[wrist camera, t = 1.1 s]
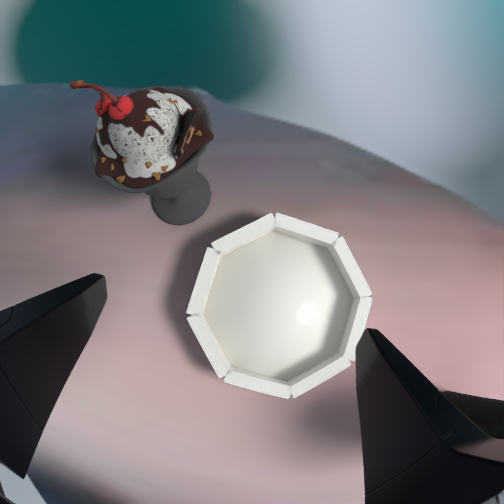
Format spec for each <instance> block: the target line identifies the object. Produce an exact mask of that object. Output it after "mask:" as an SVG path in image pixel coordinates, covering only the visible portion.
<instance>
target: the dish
mask: <svg viewBox="0 0 504 504" xmlns="http://www.w3.org/2000/svg"><path fill="white" fill-rule="evenodd" d="M338 234H339V233H337V232H334V231H331V230H328V229H325V228H322V227H319V226H316V225H313V224H310V223H307V222H304V221H301V220H298V219H295V218H292V217H289V216H286V215H283V214H280V213H276V215H275V217H274V216H273V214H272V213H270V214H268V215H266V216H264V217H262V218H260V219H258V220H256V221H254V222H252V223H250V224H248V225H246V226H244V227H242V228H240V229H238V230H236V231H234V232H232V233H230V234H228V235H226V236H224V237H222V238H220V239H218V240H216V241H214V242H212V243H211V244H212V246H213V248H214V249H212V248H209V247H207V250H206V253H205V256H204V259H203V262H202V265H201V268H200V271H199V274H198V277H197V280H196V283H195V286H194V289H193V292H192V295H191V299H190V302H189V305H188V308H187V311H186V313H188V314H191V315H192V316H190V317H188V318H187V320H188V322H189V324H190V326H191V328H192V330H193V332H194V334H195V335H196V337H197V339H198V341H199V343H200V345H201V347H202V349H203V350H204V352H205V354H206V356H207V358H208V360H209V361H210V363H211V365H212V367H213V368H214V370H215V372H216V374H217V375H218V377H219V379H220V378H222V377H224V381H223V382H226V383H229V384H232V385H236V386H239V387H243V388H246V389H250V390H254V391H257V392H261V393H265V394H269V395H273V396H277V397H281V398H286V399H289V397H290V395H291V394H292V396H293V398H296V397H298V396H299V395H301V394H303V393H305V392H307V391H309V390H310V389H312V388H314V387H316V386H317V385H319V384H321V383H323V382H324V381H326V380H328V379H329V378H331V377H333V376H334V375H336V374H338V373H339V372H341V371H343V370H344V369H346V368H347V367H349V366H350V365H351V363H350V361H349V360H352V361H355V358H356V357H355V350H356V345H357V343H358V341H359V340H360V338H361V336H362V334H363V332H364V328H365V325H366V321H367V317H368V314H369V310H370V306H371V302H372V298H370V297H367V296H369V295H371V294H372V292H371V290H370V288H369V286H368V284H367V282H366V280H365V278H364V276H363V274H362V272H361V271H360V269H359V267H358V265H357V263H356V261H355V259H354V257H353V255H352V253H351V251H350V249H349V248H348V246H347V244H346V242H345V240H344V238H343V237H340V238H338ZM337 238H338V239H337Z"/></svg>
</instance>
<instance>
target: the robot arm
mask: <svg viewBox="0 0 504 504" xmlns="http://www.w3.org/2000/svg"><path fill="white" fill-rule="evenodd" d="M106 300H107V289H106V280H105V277H104V276H103V275H100V274H96V273H93V274H90V275H87V276H85V277H82V278H80V279H77V280H75V281H72V282H70V283H67V284H65V285H62V286H60V287H57V288H55V289H52V290H50V291H47V292H45V293H43V294H40V295H38V296H35V297H33V298H30V299H28V300H26V301H23V302H21V303H19V304H16V305H15V306H11V307H9V308H7V309H4V310H2V311H0V463H1V464H2V465H4V466H5V467H7V468H8V469H9V470H11V471H12V472H13V473H15V474H16V475H18V476H19V477H21V478H22V479H24V478H25V475H26V473H27V470H28V467H29V465H30V462H31V460H32V457H33V455H34V452H35V450H36V447H37V445H38V442H39V440H40V437H41V435H42V433H43V430H44V428H45V425H46V423H47V421H48V419H49V417H50V414H51V412H52V410H53V408H54V406H55V404H56V402H57V399H58V397H59V395H60V393H61V391H62V389H63V387H64V385H65V383H66V381H67V379H68V377H69V375H70V373H71V371H72V370H73V368H74V366H75V364H76V362H77V360H78V358H79V356H80V355H81V353H82V351H83V349H84V347H85V345H86V344H87V342H88V340H89V338H90V336H91V334H92V332H93V330H94V328H95V325H96V323H97V321H98V318H99V316H100V314H101V312H102V309H103V307H104V305H105V303H106ZM355 357H356V391H357V400H358V408H359V417H360V427H361V438H362V451H363V465H364V484H365V504H504V440H502V439H496V438H493V437H490V436H489V435H487V434H486V433H484V432H483V431H482V430H481V429H480V428H479V427H478V426H476V425H475V424H474V423H473V422H472V421H471V420H470V419H468V418H467V417H466V416H465V415H464V414H463V413H462V412H461V411H460V410H458V409H457V408H456V407H455V406H454V405H453V404H452V403H451V402H450V401H449V400H448V399H447V398H446V397H445V396H444V395H443V394H442V393H441V392H440V391H438V389H437V388H436V387H435V386H434V385H433V384H432V383H431V382H430V381H429V380H428V379H427V378H426V377H425V376H424V375H423V374H422V373H421V372H420V371H419V370H418V369H417V368H416V367H415V366H414V365H413V364H412V363H411V362H410V361H409V360H408V359H407V358H406V357H405V356H404V355H403V354H402V353H401V352H400V351H399V350H398V349H397V348H396V347H395V346H394V345H393V344H392V343H391V342H390V341H389V340H388V339H387V338H386V337H385V336H384V335H383V334H382V333H381V332H380V331H379V330H377V329H372V328H367V329H365V330H364V332H363V334H362V336H361V338H360V340H359V341H358V343H357V345H356V350H355ZM0 504H15V503H13V502H12V501H10V500H9V499H7V498H6V497H5V494H4V491H3V489H2V486H1V483H0Z"/></svg>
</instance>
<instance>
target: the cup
mask: <svg viewBox="0 0 504 504" xmlns="http://www.w3.org/2000/svg"><path fill="white" fill-rule="evenodd" d="M442 394H443V395H444V396H445V397H446V398H447V399H448V400H449V401H450V402H451V403H452V404H453V405H454V406H455V407H456V408H457V409H458V410H460V411H461V412H462V413H463V414H464V415H465V416H466V417H467V418H468V419H470V420H471V421H472V422H473V423H474V424H475V425H476V426H478V427H479V428H480V429H481V430H482V431H483V432H484V433H486V434H487V435H489V436H490V437H493V438H496V439H502V440H504V401H502V400H496V399H489V398H483V397H478V396H472V395H467V394H461V393H456V392H450V391H446V392H442Z"/></svg>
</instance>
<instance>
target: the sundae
mask: <svg viewBox="0 0 504 504" xmlns="http://www.w3.org/2000/svg"><path fill="white" fill-rule="evenodd" d="M70 87H71V88H73V89H75V88H93V89H95V90H97V91H98V92H99V93H100V95H101V99H100V100H99V101H98V102H97V104H96V107H95V111H96V113H97V115H98V116H100V118H99V120H98V123H97V128H95V131H96V134H95V136H94V139H93V142H92V147H91V159H92V162H93V165H94V167H95V173H96V175H97V176H99V177H102V178H103V179H104V180H105V181H107V182H108V183H109V184H111V185H112V186H114V187H115V188H117V189H120V190H123V191H126V192H130V193H139V192H145V193H146V194H148V195H151V196H152V204H153V208H154V210H155V212H156V214H157V215H158V216H159V217H160V218H161V219H162V220H164V221H165V222H167V223H169V224H174V225H183V224H188V223H191V222H193V221H195V220H196V219H198V218H199V217H200V216H201V215H202V214H203V213H204V212H205V210H206V209H207V207H208V205H209V202H210V196H211V192H210V187H209V184H208V182H207V180H206V179H205V178H204V177H203V175H202V174H200V173H198V172H197V166H198V158H199V157H200V156H201V155H202V154H203V152H204V151H205V150H206V148H207V146H208V144H209V142H210V141H211V140H213V137H214V135H213V133H212V123H211V119H210V115H209V112H208V109H207V107H206V105H205V103H204V102H203V101H202V99H201V98H200V97H199V96H198V95H196V94H195V93H194V92H192V91H190V90H187V89H185V88H180V87H147V88H142V89H138V90H135V91H132V92H130V93H128V94H126V95H125V96H121V97H118V98H116V97H114V96H113V95H111V94H110V93H108V92H107V91H106V90H104V89H103V88H101V87H100V86H97V85H94V84H86V83H84V82H83V81H82V80H79V81H77V82H75V81H72V82H71V83H70ZM105 95H107V96H105Z"/></svg>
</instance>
